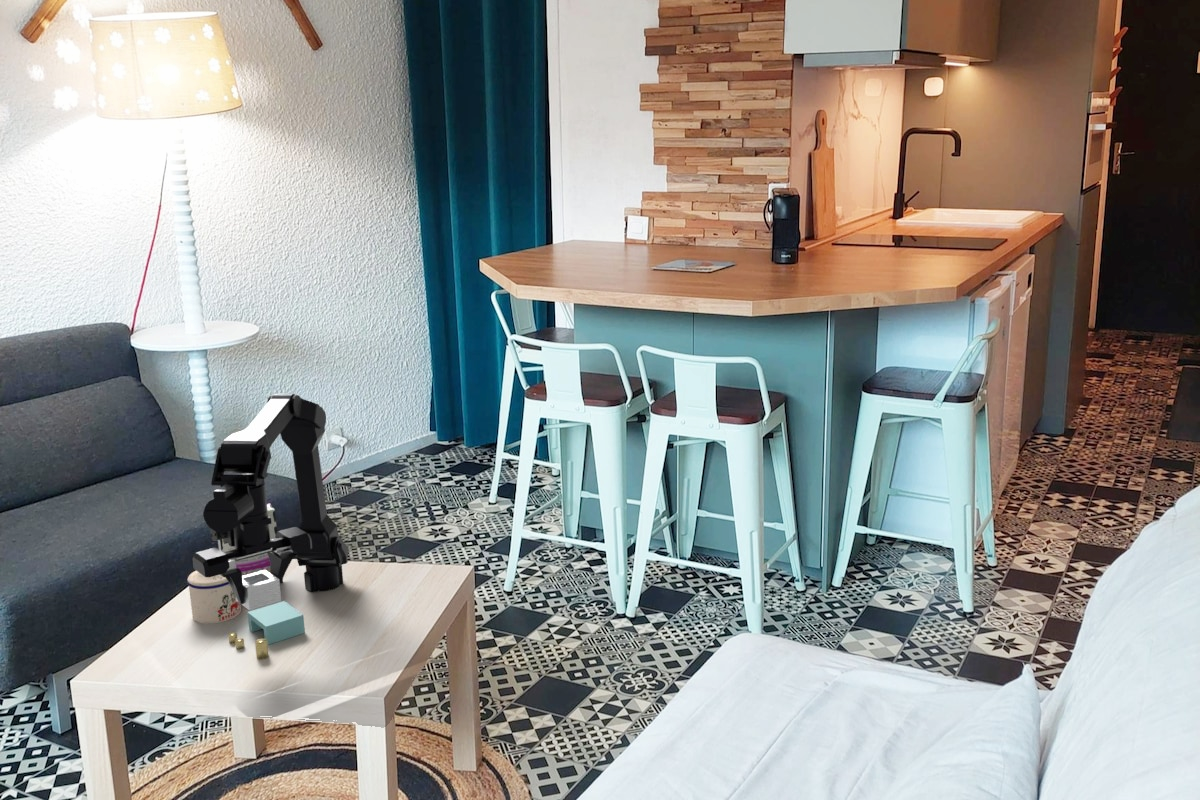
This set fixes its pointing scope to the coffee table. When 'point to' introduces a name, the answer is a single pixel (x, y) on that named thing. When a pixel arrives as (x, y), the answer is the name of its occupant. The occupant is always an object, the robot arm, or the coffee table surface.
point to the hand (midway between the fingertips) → (258, 598)
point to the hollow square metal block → (260, 590)
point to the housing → (277, 621)
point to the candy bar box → (257, 561)
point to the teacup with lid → (212, 598)
